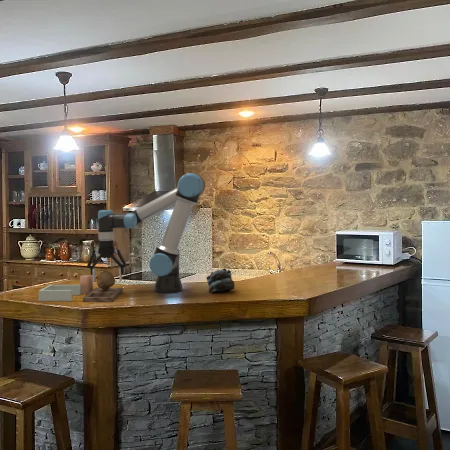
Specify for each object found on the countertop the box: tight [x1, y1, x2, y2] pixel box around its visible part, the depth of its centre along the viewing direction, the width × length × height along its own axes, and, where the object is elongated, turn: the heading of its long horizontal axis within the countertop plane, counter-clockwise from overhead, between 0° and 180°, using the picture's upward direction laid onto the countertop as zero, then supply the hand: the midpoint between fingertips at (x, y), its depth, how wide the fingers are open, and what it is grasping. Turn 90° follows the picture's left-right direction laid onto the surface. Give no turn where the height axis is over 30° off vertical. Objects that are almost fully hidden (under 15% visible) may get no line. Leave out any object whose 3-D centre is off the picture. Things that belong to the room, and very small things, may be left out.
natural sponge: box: [96, 270, 116, 290], centre depth 247 cm, size 9×9×10 cm
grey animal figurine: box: [206, 267, 236, 293], centre depth 256 cm, size 15×12×14 cm
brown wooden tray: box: [82, 287, 124, 303], centre depth 241 cm, size 14×26×2 cm, turn 1°
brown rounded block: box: [79, 274, 94, 295], centre depth 250 cm, size 6×6×9 cm
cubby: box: [38, 284, 82, 302], centre depth 238 cm, size 16×16×5 cm
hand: (107, 281), depth 247 cm, fingers open, 13 cm apart
